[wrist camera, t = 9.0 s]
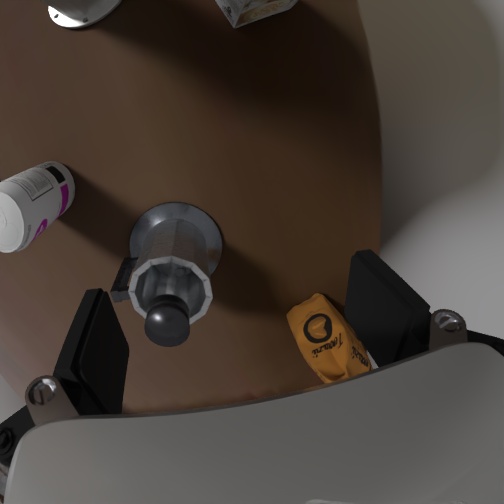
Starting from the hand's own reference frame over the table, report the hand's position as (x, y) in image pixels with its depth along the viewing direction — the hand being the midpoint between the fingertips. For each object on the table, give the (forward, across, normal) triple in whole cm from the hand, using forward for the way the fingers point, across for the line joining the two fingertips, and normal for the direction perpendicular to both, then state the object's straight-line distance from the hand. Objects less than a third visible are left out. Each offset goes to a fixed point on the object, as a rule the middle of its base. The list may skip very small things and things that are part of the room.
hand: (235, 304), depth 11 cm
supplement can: (+33, +23, 0) cm, 40 cm away
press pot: (+32, +6, +12) cm, 35 cm away
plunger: (+29, +6, +12) cm, 32 cm away
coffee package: (+32, -17, +31) cm, 47 cm away
